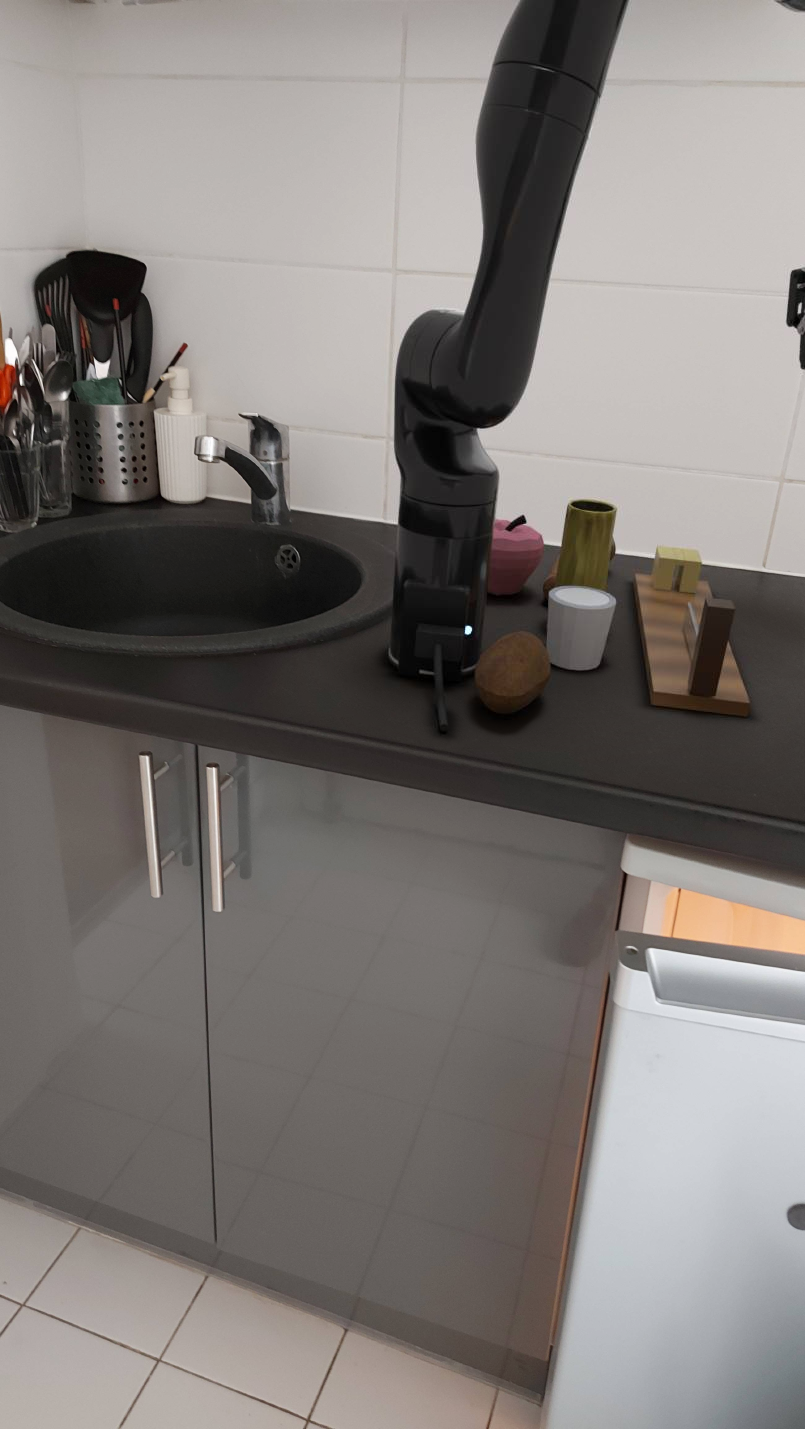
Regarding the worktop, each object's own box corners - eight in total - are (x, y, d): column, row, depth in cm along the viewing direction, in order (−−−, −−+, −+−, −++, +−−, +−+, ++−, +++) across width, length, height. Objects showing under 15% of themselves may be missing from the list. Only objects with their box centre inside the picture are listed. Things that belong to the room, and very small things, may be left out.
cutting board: (746, 717, 96) (750, 702, 95) (650, 705, 97) (653, 691, 96) (704, 592, 128) (707, 581, 127) (633, 584, 129) (635, 573, 128)
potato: (458, 724, 90) (465, 653, 87) (485, 675, 100) (492, 609, 97) (533, 738, 89) (542, 666, 86) (552, 687, 99) (562, 621, 96)
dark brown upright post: (715, 696, 95) (735, 608, 91) (689, 693, 95) (708, 605, 91) (695, 626, 111) (711, 549, 107) (673, 623, 112) (688, 547, 108)
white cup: (565, 676, 101) (575, 611, 98) (527, 651, 107) (535, 588, 104) (619, 667, 104) (630, 603, 101) (579, 642, 110) (589, 581, 107)
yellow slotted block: (695, 593, 122) (702, 562, 121) (653, 588, 123) (659, 557, 121) (691, 580, 127) (697, 549, 125) (651, 576, 127) (656, 545, 125)
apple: (523, 579, 127) (532, 501, 123) (549, 604, 120) (560, 522, 115) (451, 581, 125) (458, 502, 120) (472, 606, 118) (481, 523, 113)
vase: (550, 640, 110) (569, 511, 103) (541, 620, 115) (558, 496, 109) (606, 643, 110) (627, 515, 104) (594, 622, 116) (614, 499, 109)
